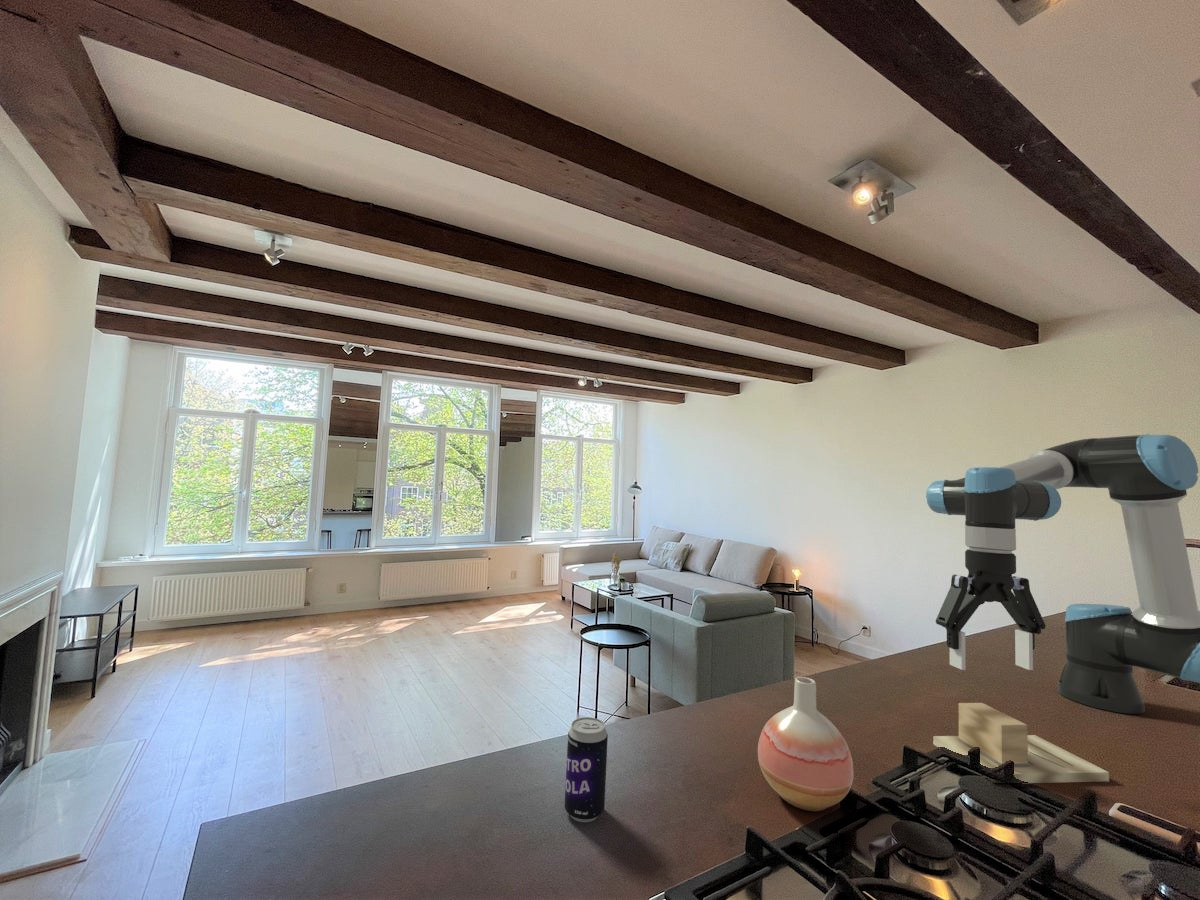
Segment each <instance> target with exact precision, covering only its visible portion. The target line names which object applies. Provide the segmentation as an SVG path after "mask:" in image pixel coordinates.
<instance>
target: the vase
mask: <svg viewBox="0 0 1200 900" xmlns="http://www.w3.org/2000/svg"><path fill="white" fill-rule="evenodd" d="M793 686H794V687H793V689H794V691H793V705H791V706H789V707H786V708H785V709H782V710H780V711H779V712H776V713H775V714H774V715H772V717H770V719H768V720H767V722H766V723H765V725H764V726H763V728H762V730H761V733H760V736H759V738H758V743H757V759H758V764H759V768H760V770H761V772H762V774H763V777H764V778H765V780H766V781H767V783H768V785H769V786H770V787H771V788H772V789H773V790H774V791H775V792H776V793H777V794H778V795H779V796H780V797H781V798H782V799H783V801H784V802H787V803H788V804H789V805H791V806H793V807H795V808H797V809H800V810H804V811H808V812H822V811H824V810H827V809H828V808H830V807H833V806H835V805H836V804H837V805H838V804H839V803H840V802H841V801H842V800H844V799H845V798H846V796H847V795H848V794H849V792H850V790H851V788H852V785H853V782H854V774H855V773H854V763H853V758H852V754H851V750H850V748H849V746H848V743H847V742H846V739H845V738H844V736H843V734H842V733H841V732H840V731H839V729H838V728H837V727H836V726H835V725H834V724H833V723H832V721H830V720H829V719H828V718H827V717H826V716H825V715H824V714H822V713H821V712H819V710H817V683H816V681H815V680H814V679H812V678H810V677H805V676H798V677H795V678H794V685H793Z"/></svg>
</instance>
